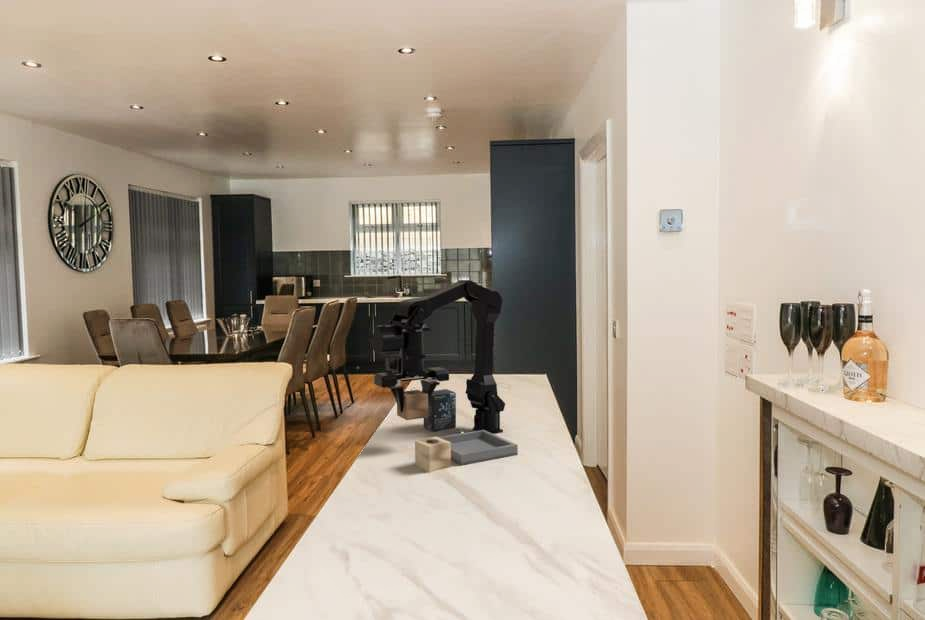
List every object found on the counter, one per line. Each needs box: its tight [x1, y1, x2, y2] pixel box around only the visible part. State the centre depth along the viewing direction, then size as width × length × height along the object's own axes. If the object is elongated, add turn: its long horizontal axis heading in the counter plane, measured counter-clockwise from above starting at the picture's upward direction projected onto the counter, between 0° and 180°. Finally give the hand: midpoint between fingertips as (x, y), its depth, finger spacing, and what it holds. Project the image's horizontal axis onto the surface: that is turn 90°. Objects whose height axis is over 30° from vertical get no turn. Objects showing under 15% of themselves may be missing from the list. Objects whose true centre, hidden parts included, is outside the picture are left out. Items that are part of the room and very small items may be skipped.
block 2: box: [414, 436, 452, 473], centre depth 149 cm, size 6×6×6 cm
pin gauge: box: [439, 429, 467, 437], centre depth 168 cm, size 12×2×2 cm, turn 120°
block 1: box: [396, 389, 428, 421], centre depth 162 cm, size 6×6×6 cm
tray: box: [437, 430, 519, 466], centre depth 160 cm, size 16×16×2 cm
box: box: [423, 388, 457, 433], centre depth 182 cm, size 8×6×11 cm
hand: (412, 410), depth 162 cm, fingers closed on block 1, 6 cm apart
